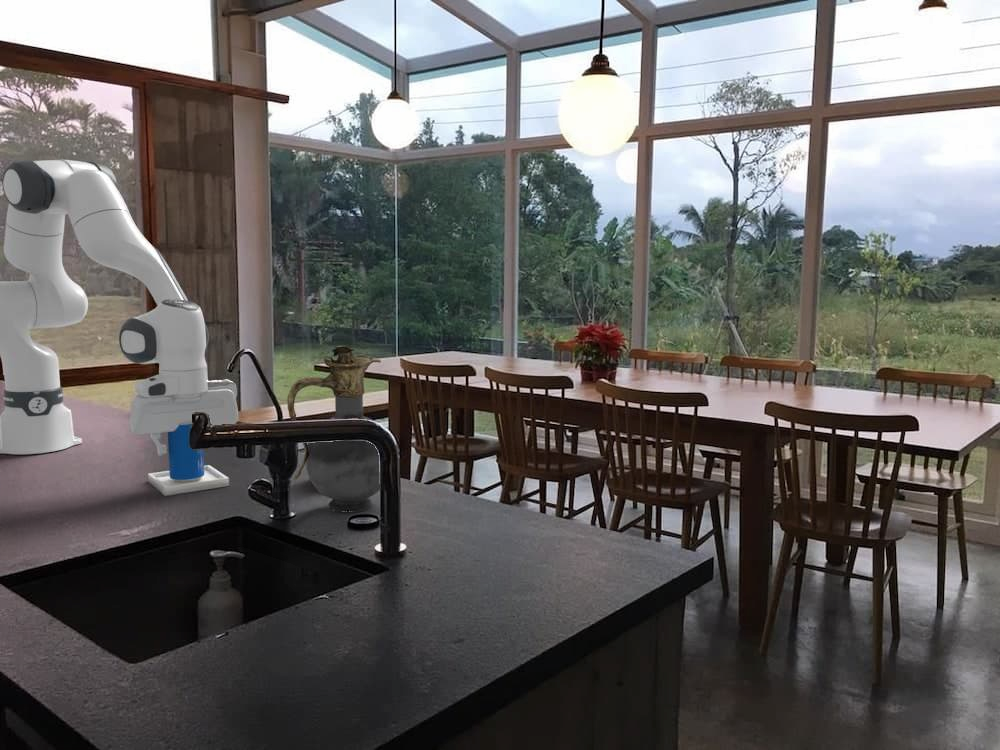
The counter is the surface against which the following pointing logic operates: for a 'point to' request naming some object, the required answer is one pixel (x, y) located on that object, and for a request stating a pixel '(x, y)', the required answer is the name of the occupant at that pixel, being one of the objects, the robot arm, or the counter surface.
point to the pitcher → (342, 464)
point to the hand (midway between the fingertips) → (187, 451)
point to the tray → (171, 487)
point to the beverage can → (184, 456)
